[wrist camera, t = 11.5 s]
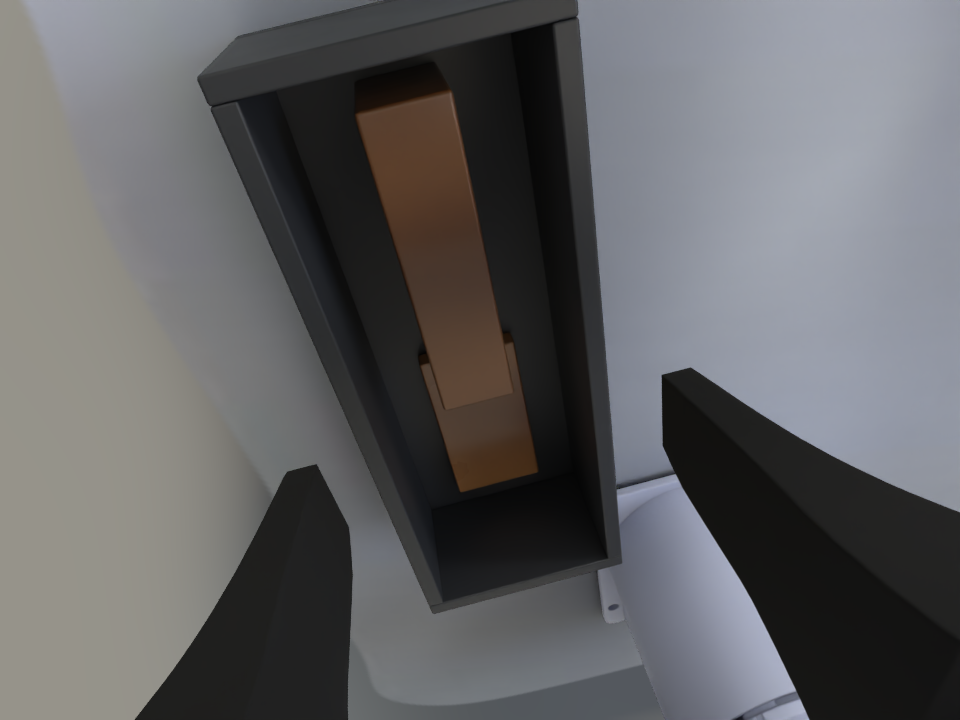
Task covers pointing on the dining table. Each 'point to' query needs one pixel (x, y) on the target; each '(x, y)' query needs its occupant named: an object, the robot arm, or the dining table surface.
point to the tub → (381, 287)
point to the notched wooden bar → (446, 273)
